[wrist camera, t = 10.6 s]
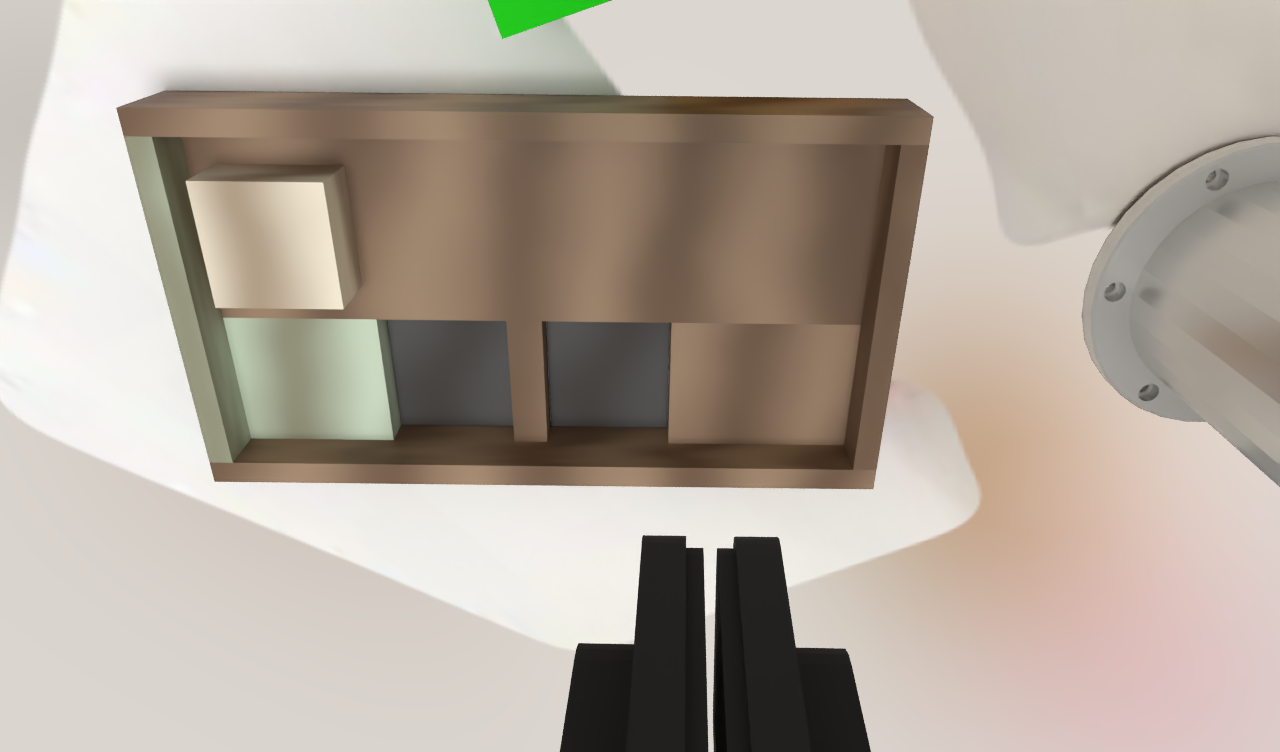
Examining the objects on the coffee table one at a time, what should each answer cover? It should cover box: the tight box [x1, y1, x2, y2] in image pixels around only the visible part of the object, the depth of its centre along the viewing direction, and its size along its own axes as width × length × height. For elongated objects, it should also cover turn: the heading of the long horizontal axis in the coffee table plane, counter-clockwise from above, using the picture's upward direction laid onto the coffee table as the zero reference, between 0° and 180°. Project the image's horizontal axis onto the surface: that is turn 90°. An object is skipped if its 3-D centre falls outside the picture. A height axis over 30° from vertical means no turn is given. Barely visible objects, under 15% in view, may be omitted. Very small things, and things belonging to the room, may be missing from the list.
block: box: [186, 164, 362, 309], centre depth 34 cm, size 5×5×2 cm
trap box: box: [117, 91, 933, 489], centre depth 36 cm, size 29×16×4 cm, turn 89°
